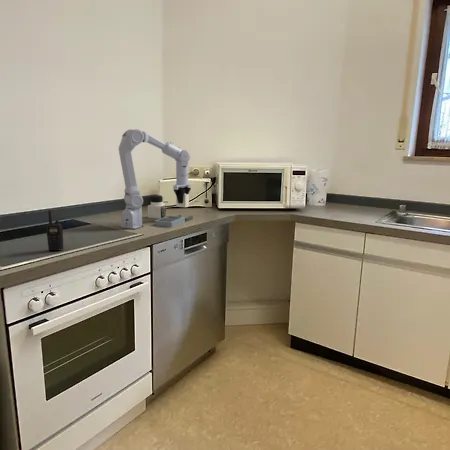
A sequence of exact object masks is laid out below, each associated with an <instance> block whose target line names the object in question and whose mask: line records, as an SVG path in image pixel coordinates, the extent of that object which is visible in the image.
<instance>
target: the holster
mask: <svg viewBox="0 0 450 450" xmlns="http://www.w3.org/2000/svg"><path fill="white" fill-rule="evenodd" d="M176 216H177V217H182V215H181V214H178V215H176ZM193 219H194V216H193V215H191V216H187V217H185V222H189V221H192V220H193Z"/></svg>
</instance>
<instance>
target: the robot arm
mask: <svg viewBox="0 0 450 450" xmlns="http://www.w3.org/2000/svg"><path fill="white" fill-rule="evenodd" d="M141 143H148V144H149V145H151V146H153V147H156V148H158V149H160V150H161V152H162V154H164V155H166V156H168V157H170V158H172V159H174V160H175V162H176V163H175V165H176V166H175V167H176V168H175V169H176V170H175V171H176V172H175V173H176V175H175V176H176V177H175V179H176V181H175V183H176V184H174V185H172V186H173V188H172V189H173V192H174V194H175V197H176V196H177V200H178V203H183V196H184V193H186V194H189V195H190V191H191V189H192V188H191V185H192V183H191V182H189V161H190V159H191V156H190V153H189V151H187V149H186V150H184V149H182V147H180V146H176V145H175V144H174V143H173V142H172V141H170V142H169V141H166V142H163V141H162V140H160V139H158V138H157V137H156V136H153V135H151V134H150V133H148V132H146V131H143V130H141V129H137V128H136V129H132V128H130V129H127V130H126V131H125V132H123V134H122V135H121V140H120V142H119V145H118V153H119V154H118V155H119V159H120V165H121V170H122V176H123V181H124V186H125V188H124V196H123V200H124V202H125V204H126V205H125V209H124V210H123V211H121V226H120V228H125V229H133V230H135V229H139V228H141V227H144V225H143V206H142V205H143V204H144V198H143V196H142V195H141V191H140V189H139V188H138V183H137V179H136V172H135V167H134V162H133V156H132V152H133V150H134V149H135V147H136V146H139V145H140V144H141Z"/></svg>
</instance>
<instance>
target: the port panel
mask: <svg viewBox="0 0 450 450" xmlns="http://www.w3.org/2000/svg"><path fill="white" fill-rule="evenodd" d="M177 216H178V215H175V216H174V215H166V216H165V217H163V218H161V219H158V218H157V219H155V220H154V226H155V227H157V226H158V227H159V228H160V229H161V228H162V227H164V228H168V229H171V228H173V227H175V226H178V225H181V224H183V223H185V222H186V221H185V218H186V217H185V216H181V217H177Z"/></svg>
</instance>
